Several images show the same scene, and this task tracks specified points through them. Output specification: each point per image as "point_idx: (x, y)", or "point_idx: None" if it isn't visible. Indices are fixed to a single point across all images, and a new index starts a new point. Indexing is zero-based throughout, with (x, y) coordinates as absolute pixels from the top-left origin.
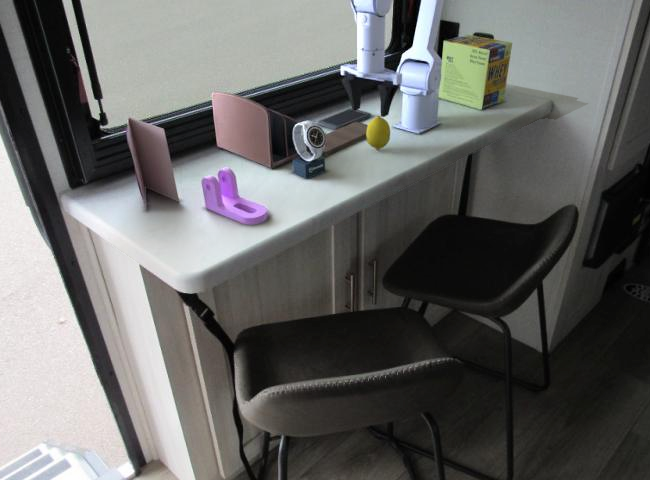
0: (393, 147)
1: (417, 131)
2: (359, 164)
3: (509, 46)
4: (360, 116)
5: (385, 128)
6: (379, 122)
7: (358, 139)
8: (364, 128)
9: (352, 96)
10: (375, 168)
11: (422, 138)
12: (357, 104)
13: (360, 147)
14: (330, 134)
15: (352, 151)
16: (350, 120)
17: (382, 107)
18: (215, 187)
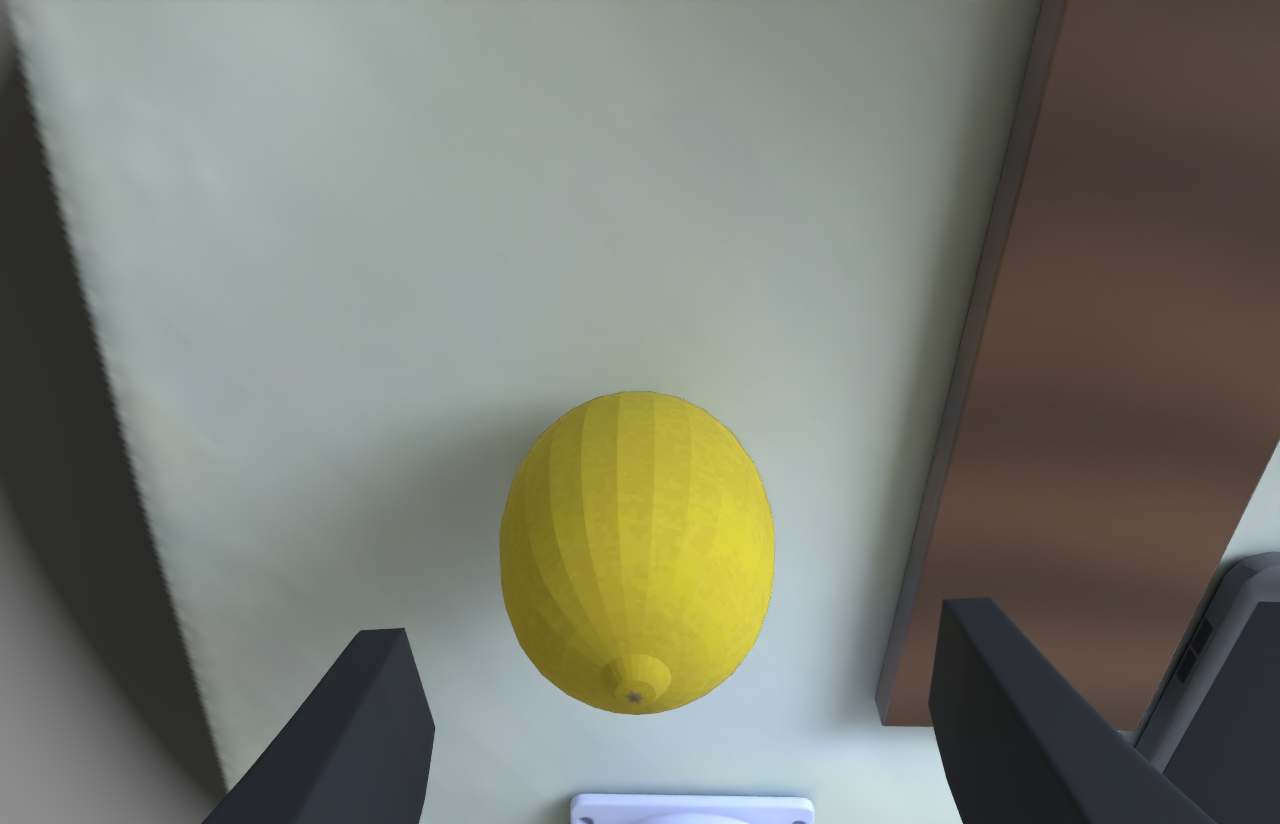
0: None
1: (592, 807)
2: (551, 33)
3: None
4: None
5: (506, 585)
6: (571, 613)
7: (928, 497)
8: None
9: (1075, 806)
10: (336, 59)
11: (508, 756)
12: (960, 727)
13: (822, 390)
14: (1249, 414)
15: (836, 270)
16: (1196, 725)
17: (291, 751)
18: None
